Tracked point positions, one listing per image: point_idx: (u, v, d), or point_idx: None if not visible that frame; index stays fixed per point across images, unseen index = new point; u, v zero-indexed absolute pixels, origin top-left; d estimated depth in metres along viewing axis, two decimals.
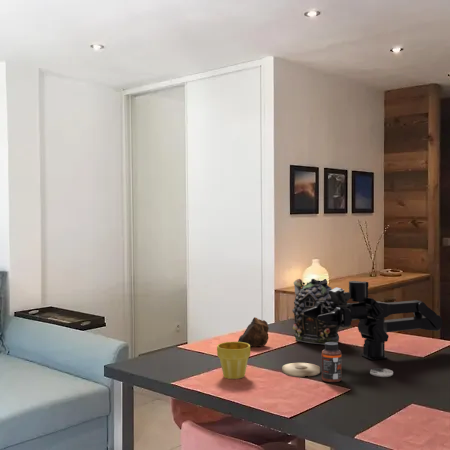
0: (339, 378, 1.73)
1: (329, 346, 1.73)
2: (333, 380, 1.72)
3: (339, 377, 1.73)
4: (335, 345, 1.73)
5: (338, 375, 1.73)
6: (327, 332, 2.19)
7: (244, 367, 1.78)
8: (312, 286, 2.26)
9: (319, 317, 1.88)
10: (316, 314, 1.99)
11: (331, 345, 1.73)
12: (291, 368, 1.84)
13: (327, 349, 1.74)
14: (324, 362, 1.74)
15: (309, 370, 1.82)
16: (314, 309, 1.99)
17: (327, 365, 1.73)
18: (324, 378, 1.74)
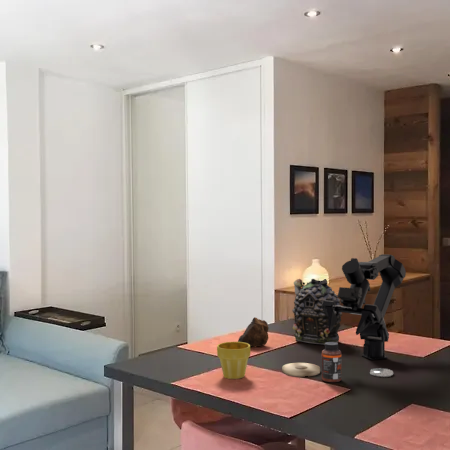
0: (339, 378, 1.73)
1: (329, 346, 1.73)
2: (333, 380, 1.72)
3: (339, 377, 1.73)
4: (335, 345, 1.73)
5: (338, 375, 1.73)
6: (327, 332, 2.19)
7: (244, 367, 1.78)
8: (312, 286, 2.26)
9: (358, 332, 1.79)
10: (334, 319, 1.88)
11: (331, 345, 1.73)
12: (291, 368, 1.84)
13: (327, 349, 1.74)
14: (324, 362, 1.74)
15: (309, 370, 1.82)
16: (332, 317, 1.86)
17: (327, 365, 1.73)
18: (324, 378, 1.74)
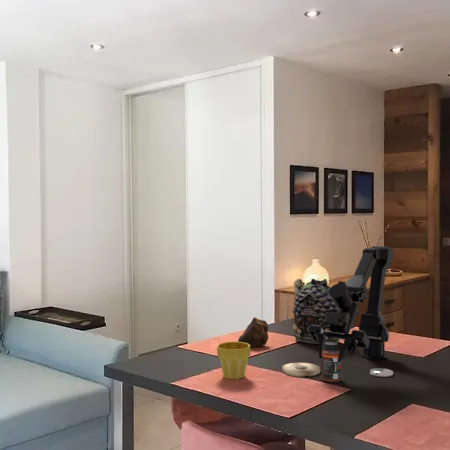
0: (339, 378, 1.73)
1: (329, 346, 1.73)
2: (333, 380, 1.72)
3: (339, 377, 1.73)
4: (335, 345, 1.73)
5: (338, 375, 1.73)
6: None
7: (244, 367, 1.78)
8: (312, 286, 2.26)
9: (340, 359, 1.72)
10: None
11: (331, 345, 1.73)
12: (291, 368, 1.84)
13: (327, 349, 1.74)
14: (324, 362, 1.74)
15: (309, 370, 1.82)
16: (323, 344, 1.78)
17: (327, 365, 1.73)
18: (324, 378, 1.74)
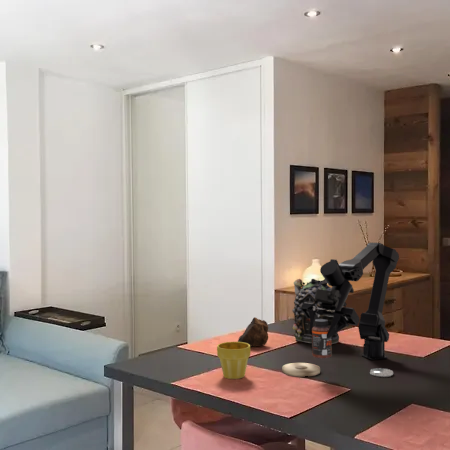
0: (328, 354, 1.75)
1: (318, 323, 1.76)
2: (322, 356, 1.75)
3: (328, 353, 1.75)
4: (324, 322, 1.76)
5: (327, 351, 1.75)
6: None
7: (244, 367, 1.78)
8: (312, 286, 2.26)
9: (329, 335, 1.74)
10: None
11: (320, 322, 1.76)
12: (291, 368, 1.84)
13: (316, 326, 1.76)
14: (313, 338, 1.76)
15: (309, 370, 1.82)
16: (314, 321, 1.81)
17: (316, 341, 1.75)
18: (314, 354, 1.76)
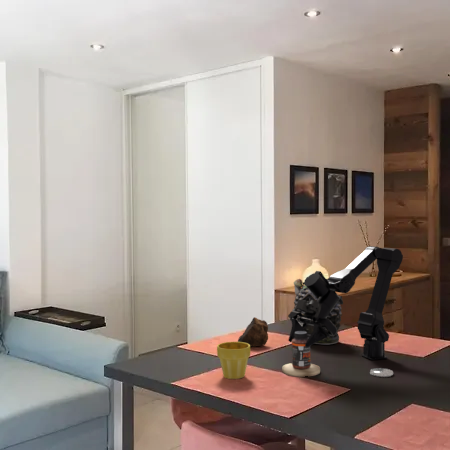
0: (305, 365, 1.82)
1: (296, 335, 1.83)
2: (299, 367, 1.82)
3: (305, 365, 1.82)
4: (302, 334, 1.83)
5: (304, 363, 1.82)
6: None
7: (244, 367, 1.78)
8: None
9: (307, 344, 1.80)
10: (299, 330, 1.90)
11: (298, 334, 1.83)
12: (291, 368, 1.84)
13: (295, 338, 1.84)
14: (292, 349, 1.84)
15: (309, 370, 1.82)
16: (294, 329, 1.89)
17: (293, 352, 1.83)
18: (292, 364, 1.85)
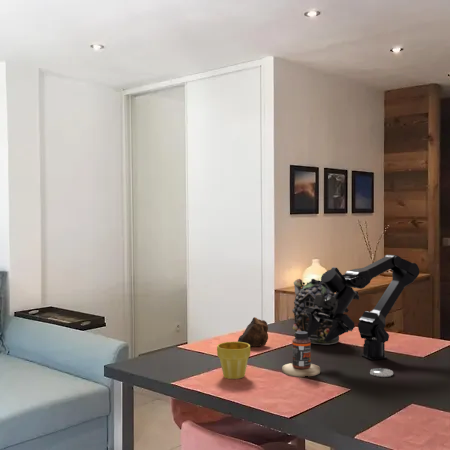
0: (306, 366, 1.82)
1: (297, 335, 1.84)
2: (299, 367, 1.82)
3: (305, 365, 1.82)
4: (302, 334, 1.83)
5: (304, 363, 1.82)
6: (327, 332, 2.19)
7: (244, 367, 1.78)
8: (312, 286, 2.26)
9: (326, 340, 1.84)
10: (315, 325, 1.94)
11: (298, 334, 1.83)
12: (291, 368, 1.84)
13: (295, 338, 1.84)
14: (292, 349, 1.84)
15: (309, 370, 1.82)
16: (311, 324, 1.93)
17: (294, 352, 1.83)
18: (292, 364, 1.85)
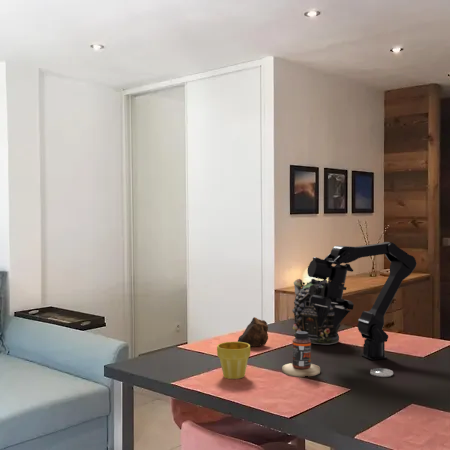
0: (305, 366, 1.82)
1: (297, 335, 1.84)
2: (299, 367, 1.82)
3: (305, 365, 1.82)
4: (303, 334, 1.83)
5: (304, 363, 1.82)
6: (327, 332, 2.19)
7: (244, 367, 1.78)
8: None
9: (319, 324, 1.92)
10: (340, 314, 1.99)
11: (299, 334, 1.83)
12: (291, 368, 1.84)
13: (296, 337, 1.84)
14: None
15: (309, 370, 1.82)
16: (335, 315, 2.00)
17: (294, 352, 1.84)
18: (292, 364, 1.85)
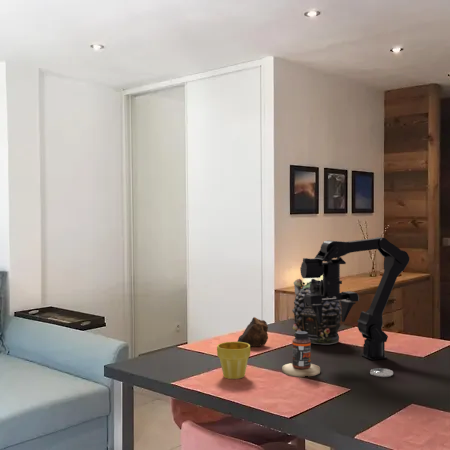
0: (305, 366, 1.82)
1: (297, 335, 1.84)
2: (299, 367, 1.82)
3: (305, 365, 1.82)
4: (302, 334, 1.83)
5: (304, 363, 1.82)
6: (327, 332, 2.19)
7: (244, 367, 1.78)
8: None
9: (318, 322, 1.96)
10: (345, 307, 1.99)
11: (298, 334, 1.83)
12: (291, 368, 1.84)
13: (295, 338, 1.84)
14: (292, 349, 1.84)
15: (309, 370, 1.82)
16: (342, 308, 2.00)
17: (294, 352, 1.84)
18: (292, 364, 1.85)
